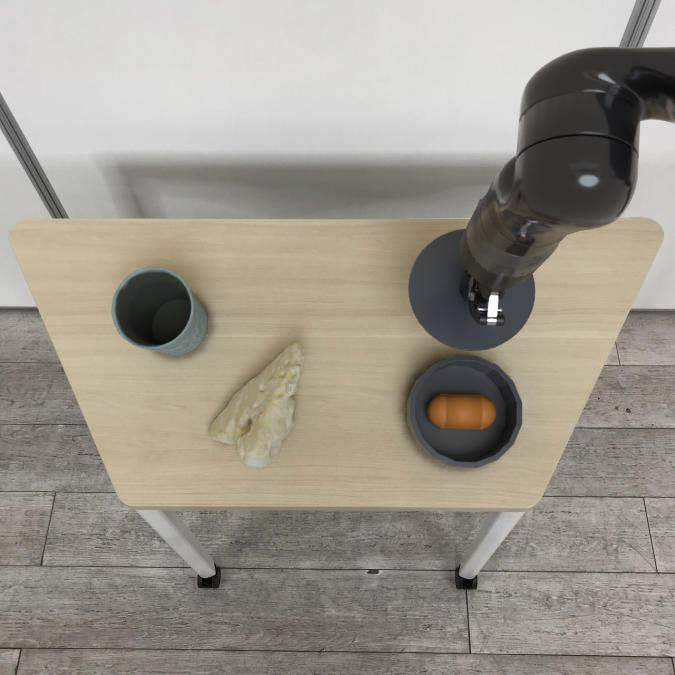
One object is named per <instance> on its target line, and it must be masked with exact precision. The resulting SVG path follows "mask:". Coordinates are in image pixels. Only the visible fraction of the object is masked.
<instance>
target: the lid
mask: <svg viewBox="0 0 675 675" xmlns="http://www.w3.org/2000/svg"><path fill="white" fill-rule="evenodd" d="M465 229H466V228H459V229H455V230H452V231H448V232H445V233H443V234H441V235H439V236H438V237H436V238H434V239H433V240H431V241H430V242H429V243H428V244H427V245H426V246H425V247H424V248H423V249H422V250H421V251H420V253H419V254H418V255H417V256H416V259H415V261H414V262H413V265H412V267H411V270H410V274H409V278H408V287H407V288H408V298H409V303H410V307H411V310H412V313H413V314H414V317H415V319H416V320H417V322H418V323H419V325H420V327H421V328H423V330H424V331H425V332H426V333H427V334H428V335H429V336H430V337H432V338H433V339H435V340H436V341H438V342H439V343H441V344H443V345H445V346H447V347H449V348H452V349H456V350H458V351H459V350H460V351H466V352H480V351H487V350H491V349H494V348H497V347H499V346H501V345H503V344H505V343H507V342H509V341H510V340H512V339H513V338H514V337H515V336H516V335H517V334H519V333H520V331H521V330H522V329H523V328H524V327H525V325H526V324H527V322H528V321H529V318H530V317H531V315H532V311H533V309H534V305H535V300H536V281H535V277H534V273H533V274H532V275H531V276H530V277H529V278H528V279H526V280H525V281H524V282H522V283H520V284H519V285H516V286H514V287H512V288H509V289H507V291H506V295H505V297H504V298H503V299H501V300H498V308H502V313H503V314H504V316H505V323H504V326H487V325H478V324H477V323H476V322H475V320H474V319H473V318H472V317H471V315H470V312H469V308H470V307H468V304H467V303H465V296H466V294H467V293H468V292H469V279H470V277H471V275H470V274H469V273H468V272H467V273H465V267H464V265H463V263H462V260H461V256H460V242H461V238H462V235H463V233H464V231H465Z"/></svg>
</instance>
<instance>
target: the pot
mask: <svg viewBox="0 0 675 675" xmlns="http://www.w3.org/2000/svg"><path fill="white" fill-rule="evenodd" d="M440 394H456V395H483V396H484V397H487V398H488V399H490V400H491V401H492V402H493V404H494V405H495V408H496V418H495V420H494V422H493V423H492V425H490V426H489V427H487V428H485V429H482V430H469V429H439V428H438V427H437V426H435V425H434V424H432V423H431V421H430V420H429V418H428V415H427V406H428V404H429V402H430V401H431V399H433V398H434V397H435V396H437V395H440ZM405 411H406V412H405V413H406V414H405V415H406V416H405V417H406V424H407V427H408V429H409V432H410V434H411V438H412V439H413V442H414V443H415V444H416V445H417V446H418V447H419V448H420V449H421V450H422V452H424V453H425V454H426V455H427V456H428V457H429V458H431V459H433V460H436V462H438V463H439V462H440V463H442V464H444V465H446V466H449V467H450V466H451V467H454V468H472V469H476V468H481V467H483V466H485V465H489V464H491V463H494V462H496V461H499V460H500V459H501V458H502V457H503V456H504V455H505V454H506V453H507V452H508V451H509V450H510V449H511V448H512V447H513V446H514V445H515V443H516V440H517V438H518V435H519V433H520V431H521V428H522V425H523V400H522V399H521V396H520V394H519V391H518V389H517V387H516V384H515V382H514V381H513V379H512V377H510V376H509V375H508V373H506V372H505V371H504V369H502V368H501V367H500V366H499V365H498V364H496V363H494V362H492V361H490V360H488V359H485V358H483V357H480V356H478V355H465V354H460V355H459V354H456V355H452V356H450V357H449V356H448V357H446V358H444V359H441V360H438V361H436V362H434V363H433V364H432V365H431V366H430V367H429V368H428V369H427V370H425V371H424V373H422V374H421V375H420V376H419V377H418V378H417V379H416V380H415V381H414V384H413V385H412V388H411V390H410V392H409V394H408V396H407V399H406V409H405Z"/></svg>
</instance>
